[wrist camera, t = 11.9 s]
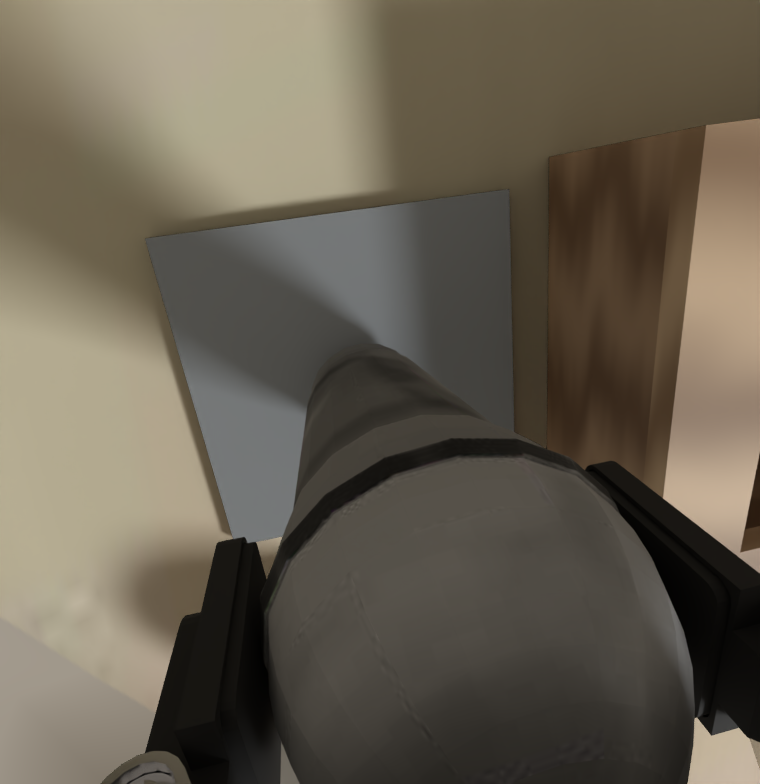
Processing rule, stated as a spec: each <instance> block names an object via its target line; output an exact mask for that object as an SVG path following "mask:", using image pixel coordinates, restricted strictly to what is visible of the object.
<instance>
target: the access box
mask: <svg viewBox="0 0 760 784" xmlns="http://www.w3.org/2000/svg"><path fill="white" fill-rule="evenodd" d="M547 449H548V450H551V451H554V452H557V453H559V454H562V455H565V456H568V457H570V458H571V459H572V460H574V461H575V462H576V463H577V464H578V465H579V466H580V467H582V468H583V469H584V470H585V469H586V467H587V466H589V465H592V464H597V463H602V462H606V461H615V462H617V463H618V464H619V465H621V466H622V467H623V468H625V469H626V470H627V471H628V472H630V473H631V474H632V475H634V476H635V477H636V478H638V479H639V480H640V481H641V482H643V483H644V484H645V485H647V486H648V487H649V488H650V489H652V490H653V491H654V492H656V493H657V494H658V495H659V496H661V497H662V498H663V499H665V500H666V501H667V502H668V503H670V504H671V505H672V506H674V507H675V508H676V509H677V510H679V511H680V512H681V513H683V514H684V515H685V516H686V517H688V518H689V519H690V520H692V521H693V522H694V523H696V524H697V525H698V526H699V527H701V528H702V529H703V530H705V531H706V532H707V533H708V534H710V535H711V536H712V537H714V538H715V539H716V540H717V541H719V542H720V543H721V544H723V545H724V546H725V547H726V548H728V549H729V550H730V551H732V552H733V553H734V554H735V555H737V556H738V557H739V558H741V559H742V560H743V561H744V562H746V563H747V564H748V565H750V566H751V567H752V568H753V569H755V570H756V571H757V572H759V573H760V118H759V119H751V120H743V121H735V122H727V123H719V124H711V125H704V126H699V127H695V128H690V129H685V130H680V131H675V132H670V133H665V134H660V135H655V136H650V137H645V138H640V139H635V140H630V141H625V142H620V143H616V144H611V145H606V146H601V147H596V148H591V149H586V150H581V151H576V152H571V153H566V154H561V155H556V156H551V157H549V254H548V379H547Z"/></svg>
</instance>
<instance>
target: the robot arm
mask: <svg viewBox="0 0 760 784" xmlns="http://www.w3.org/2000/svg"><path fill="white" fill-rule="evenodd" d="M585 471H586V472H587V473H588V474H590V475H591V476H592V477H593V478H594V479H595V480H597V481H598V482H599V483H600V484H601V485H602V486H603V487H605V488H606V489H607V491H608V492H609V494H610V496H611V497H612V499H613V501H614V502H615V504H616V506H617V508H618V510H619V513H620V515H621V516H622V517H623V518H624V520H625V521H626V522H627V523H628V524H629V525H630V526H631V527H632V528H633V529H634V531H635V533H636V534H637V536H638V537H639V539H640V540H641V542H642V543H643V545H644V546H645V548H646V550H647V551H648V553H649V554H650V556H651V557H652V560H653V562H654V564H655V566H656V569H657V571H658V573H659V575H660V578H661V580H662V582H663V584H664V586H665V589H666V591H667V593H668V595H669V598H670V600H671V602H672V604H673V607H674V609H675V611H676V614H677V616H678V618H679V621H680V623H681V625H682V628H683V630H684V634H685V638H686V642H687V647H688V651H689V655H690V659H691V663H692V667H693V685H694V703H695V715H694V718H696V717H697V718H698V719H699V720H700V722H701V723H702V724H703V725H704V727H705V728H706V729H707V730H708V732H709V733H710V734H711V735H715V734H718V733H722V732H725V731H729V730H733V729H736V728H738V727H739V728H740V729H741V730H742V732H743V733H744V734H745V735H746V736H747V737H748V738H750V742H751V745H752V748H753V751H754V753H755V756H756V759H757V762H758V765H759V768H760V573H759V572H757V571H756V570H755V569H753V568H752V567H751V566H750V565H748V564H747V563H746V562H744V561H743V560H742V559H741V558H739V557H738V556H737V555H735V554H734V553H733V552H732V551H730V550H729V549H728V548H726V547H725V546H724V545H723V544H721V543H720V542H719V541H717V540H716V539H715V538H714V537H712V536H711V535H710V534H708V533H707V532H706V531H705V530H703V529H702V528H701V527H699V526H698V525H697V524H696V523H694V522H693V521H692V520H690V519H689V518H688V517H686V516H685V515H684V514H683V513H681V512H680V511H679V510H677V509H676V508H675V507H674V506H672V505H671V504H670V503H668V502H667V501H666V500H665V499H663V498H662V497H661V496H659V495H658V494H657V493H656V492H654V491H653V490H652V489H650V488H649V487H648V486H647V485H645V484H644V483H643V482H641V481H640V480H639V479H638V478H636V477H635V476H634V475H632V474H631V473H630V472H628V471H627V470H626V469H625V468H623V467H622V466H621V465H619V464H618V463H617V462H615V461H606V462H602V463H597V464H592V465H589V466H587V467H586V469H585ZM265 583H266V576H265V572H264V569H263V565H262V561H261V557H260V554H259V550H258V547H257V544H256V542H250V543H247V540H246V538H245V537H241V538H236V539H231V540H226V541H221V542H218V543H217V545H216V549H215V553H214V557H213V562H212V566H211V571H210V575H209V579H208V584H207V588H206V593H205V597H204V601H203V606H202V610H201V612H200V613H195V614H191V615H186V616H185V617H184V618H183V619H182V621H181V623H180V626H179V630H178V633H177V637H176V641H175V644H174V648H173V652H172V655H171V659H170V663H169V666H168V670H167V674H166V678H165V681H164V685H163V689H162V692H161V696H160V700H159V703H158V707H157V711H156V714H155V718H154V722H153V726H152V729H151V733H150V736H149V740H148V744H147V747H146V751H145V753H144V754H140V755H138V756H136V757H134V758H132V759H130V760H128V761H127V762H125V763H123V764H121V766H119V767H118V768H117V769H116V770H114V771H113V772H112V773H111V774H110V775H108V776H107V777H106V778H105V779H104V781H103V782H102V783H101V784H280V778H281V740H280V737H279V734H278V732H277V729H276V726H275V721H274V716H273V711H272V707H271V702H270V697H269V682H268V671H267V669H266V667H265V665H264V662H263V658H262V651H261V642H260V595H261V592H262V590H263V587H264V585H265Z"/></svg>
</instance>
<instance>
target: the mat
mask: <svg viewBox="0 0 760 784" xmlns="http://www.w3.org/2000/svg"><path fill="white" fill-rule="evenodd" d="M145 241H146V244H147V247H148V251H149V254H150V258H151V261H152V264H153V268H154V271H155V275H156V278H157V281H158V285H159V288H160V292H161V295H162V299H163V302H164V305H165V309H166V312H167V316H168V319H169V322H170V326H171V329H172V333H173V336H174V339H175V343H176V346H177V350H178V353H179V356H180V360H181V363H182V367H183V370H184V373H185V377H186V380H187V384H188V387H189V390H190V394H191V397H192V401H193V404H194V407H195V411H196V414H197V418H198V421H199V424H200V428H201V431H202V435H203V438H204V441H205V445H206V448H207V452H208V455H209V458H210V462H211V465H212V469H213V472H214V475H215V479H216V482H217V486H218V489H219V492H220V496H221V499H222V503H223V506H224V509H225V513H226V516H227V520H228V523H229V526H230V530H231V533H232V537H233V539H236V538H241V537H245V538H246V540H247V543H250V542H258V541H263V540H268V539H273V538H277V537H282V536H283V534H284V531H285V528H286V526H287V524H288V521H289V519H290V516H291V514H292V512H293V507H294V500H295V493H296V486H297V478H298V471H299V464H300V456H301V449H302V442H303V435H304V427H305V420H306V413H307V405H308V400H309V397H310V394H311V392H312V385H313V383H314V380H315V378H316V375H317V373H318V371H319V369H320V368H321V367H322V366H323V365H324V363H325V362H326V361H327V360H328V359H329V358H330V357H331V356H333V355H334V354H336V353H338V352H339V351H341V350H342V349H344V348H347V347H350V346H354V345H358V344H361V343H363V344H380V345H383V346H385V347H388V348H391V349H393V350H396V351H397V352H398V353H399V354H400V355H403V356H406V357H408V358H409V359H410V360H411V361H413V362H414V363H415V364H417V365H418V366H419V367H420V368H422V369H423V370H424V371H426V372H427V373H428V374H429V375H431V376H432V377H433V378H435V379H436V380H437V381H438V382H440V383H441V384H442V385H444V386H445V387H446V388H447V389H449V390H450V391H451V392H453V393H454V394H455V395H457V396H458V397H459V398H460V399H462V400H463V401H464V402H466V403H467V404H468V405H469V406H471V407H472V408H473V409H475V410H476V411H477V412H478V413H480V414H481V415H482V416H484V417H485V418H486V419H487V420H489V421H490V422H491V423H493V424H495V425H497V426H500V427H503V428H506V429H509V430H511V431H513V432H514V393H513V345H512V297H511V248H510V200H509V189H507V190H498V191H491V192H483V193H476V194H469V195H461V196H454V197H446V198H439V199H432V200H424V201H417V202H410V203H402V204H395V205H388V206H380V207H373V208H365V209H358V210H351V211H343V212H336V213H329V214H321V215H314V216H306V217H299V218H292V219H284V220H277V221H270V222H262V223H255V224H247V225H240V226H233V227H225V228H218V229H211V230H203V231H196V232H189V233H181V234H174V235H166V236H159V237H152V238H146V239H145Z"/></svg>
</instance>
